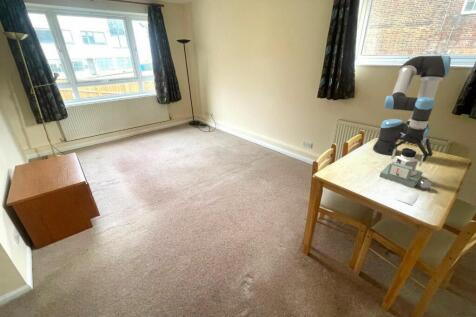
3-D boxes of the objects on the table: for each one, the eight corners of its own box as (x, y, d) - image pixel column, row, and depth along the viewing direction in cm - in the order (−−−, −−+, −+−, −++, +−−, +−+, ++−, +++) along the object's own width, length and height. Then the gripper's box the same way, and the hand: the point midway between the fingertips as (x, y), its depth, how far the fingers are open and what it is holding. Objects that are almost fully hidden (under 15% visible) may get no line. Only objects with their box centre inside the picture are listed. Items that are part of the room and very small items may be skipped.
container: (402, 173, 128) (409, 153, 122) (392, 167, 135) (398, 147, 129) (414, 171, 129) (421, 151, 123) (403, 165, 136) (410, 146, 130)
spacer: (418, 184, 125) (420, 178, 123) (429, 187, 121) (432, 181, 120) (416, 188, 122) (418, 181, 120) (427, 191, 118) (430, 185, 117)
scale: (389, 166, 143) (393, 152, 139) (421, 176, 132) (427, 161, 127) (379, 177, 133) (383, 162, 129) (413, 188, 121) (419, 172, 117)
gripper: (388, 124, 127) (379, 157, 136) (445, 134, 110) (431, 171, 119) (393, 121, 131) (384, 153, 141) (448, 130, 114) (434, 166, 124)
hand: (405, 161), depth 130 cm, fingers open, 13 cm apart
